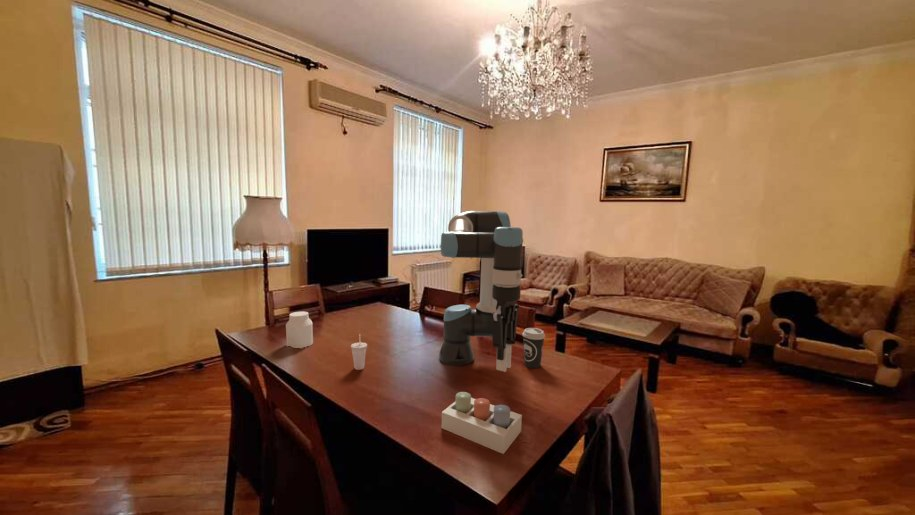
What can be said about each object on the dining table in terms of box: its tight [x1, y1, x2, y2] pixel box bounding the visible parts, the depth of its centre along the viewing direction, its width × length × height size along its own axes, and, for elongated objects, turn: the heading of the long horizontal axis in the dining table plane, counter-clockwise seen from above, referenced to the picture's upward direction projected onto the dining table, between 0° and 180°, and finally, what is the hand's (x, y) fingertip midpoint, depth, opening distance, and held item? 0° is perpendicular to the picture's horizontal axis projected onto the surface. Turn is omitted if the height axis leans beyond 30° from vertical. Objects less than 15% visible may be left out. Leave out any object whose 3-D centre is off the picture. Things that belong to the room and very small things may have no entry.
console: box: [441, 397, 523, 455], centre depth 101 cm, size 20×12×5 cm, turn 57°
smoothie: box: [350, 333, 368, 371], centre depth 140 cm, size 6×6×14 cm
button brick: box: [474, 397, 491, 421], centre depth 101 cm, size 5×5×6 cm
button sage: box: [455, 391, 472, 414], centre depth 104 cm, size 5×5×6 cm
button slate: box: [493, 404, 511, 429], centre depth 98 cm, size 5×5×6 cm
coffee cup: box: [521, 327, 546, 369], centre depth 146 cm, size 10×10×15 cm
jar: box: [285, 311, 314, 349], centre depth 165 cm, size 12×10×15 cm
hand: (503, 368), depth 96 cm, fingers open, 2 cm apart
